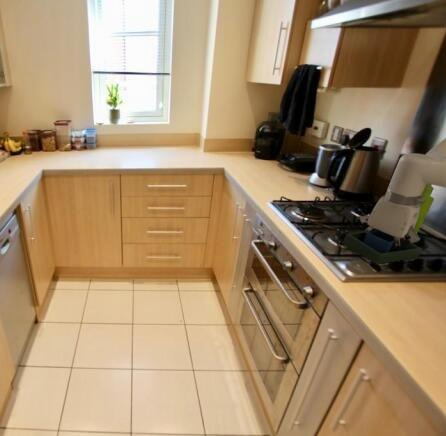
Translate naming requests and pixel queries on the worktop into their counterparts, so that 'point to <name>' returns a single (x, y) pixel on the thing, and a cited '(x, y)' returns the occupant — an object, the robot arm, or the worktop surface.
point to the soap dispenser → (424, 206)
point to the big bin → (356, 245)
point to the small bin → (379, 241)
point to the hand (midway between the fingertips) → (378, 248)
